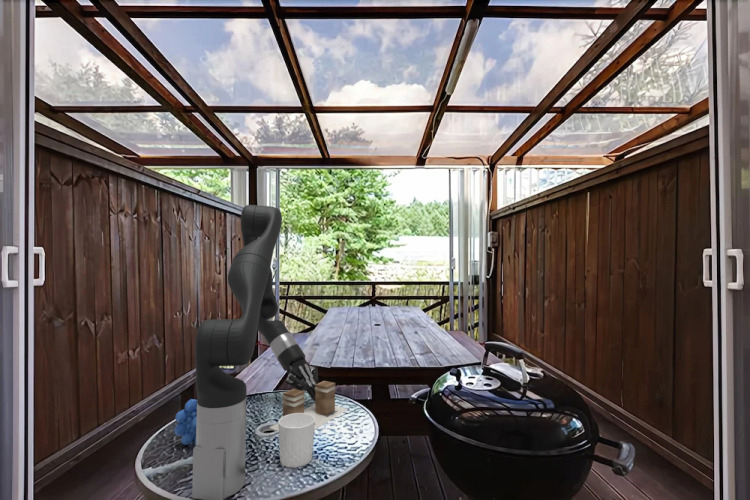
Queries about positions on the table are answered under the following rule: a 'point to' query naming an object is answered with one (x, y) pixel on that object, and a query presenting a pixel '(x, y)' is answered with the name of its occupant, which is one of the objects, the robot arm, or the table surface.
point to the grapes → (187, 422)
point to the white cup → (296, 439)
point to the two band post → (293, 402)
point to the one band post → (325, 397)
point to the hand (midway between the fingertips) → (318, 398)
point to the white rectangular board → (318, 416)
